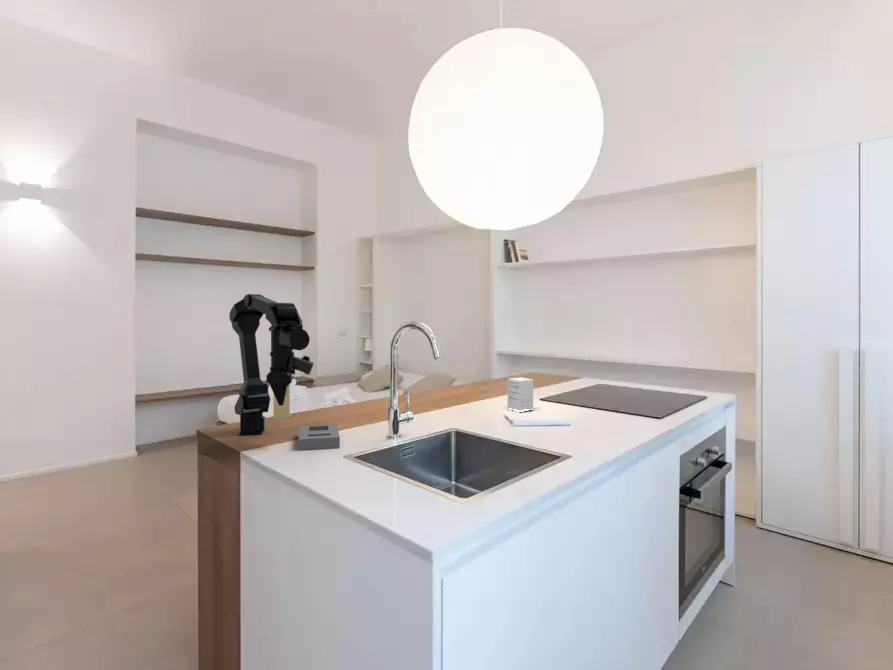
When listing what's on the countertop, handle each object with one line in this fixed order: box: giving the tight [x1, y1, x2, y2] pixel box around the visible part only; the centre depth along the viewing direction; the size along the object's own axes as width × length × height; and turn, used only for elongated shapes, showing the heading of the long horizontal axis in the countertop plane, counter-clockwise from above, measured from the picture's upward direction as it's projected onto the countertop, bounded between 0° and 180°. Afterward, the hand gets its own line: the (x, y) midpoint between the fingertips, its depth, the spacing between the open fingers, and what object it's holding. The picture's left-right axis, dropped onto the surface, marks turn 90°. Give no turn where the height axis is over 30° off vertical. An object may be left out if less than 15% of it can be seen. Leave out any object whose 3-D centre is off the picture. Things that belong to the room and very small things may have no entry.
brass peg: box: [272, 383, 291, 419], centre depth 135 cm, size 4×4×10 cm
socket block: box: [297, 424, 341, 451], centre depth 141 cm, size 11×16×3 cm
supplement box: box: [507, 376, 534, 410], centre depth 191 cm, size 7×7×13 cm
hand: (281, 403), depth 135 cm, fingers closed on brass peg, 4 cm apart
